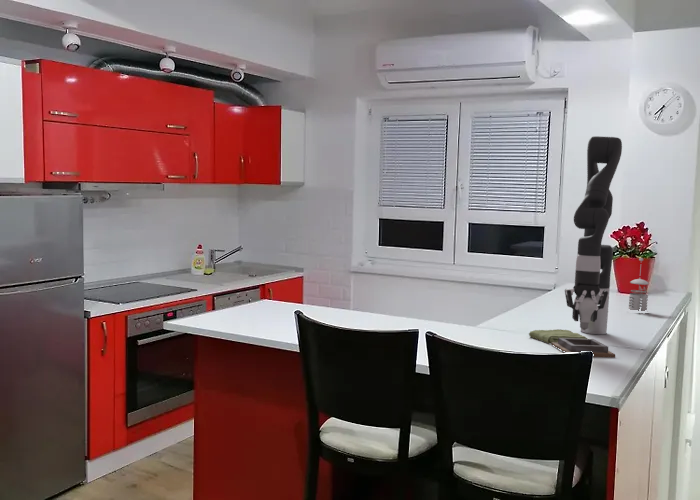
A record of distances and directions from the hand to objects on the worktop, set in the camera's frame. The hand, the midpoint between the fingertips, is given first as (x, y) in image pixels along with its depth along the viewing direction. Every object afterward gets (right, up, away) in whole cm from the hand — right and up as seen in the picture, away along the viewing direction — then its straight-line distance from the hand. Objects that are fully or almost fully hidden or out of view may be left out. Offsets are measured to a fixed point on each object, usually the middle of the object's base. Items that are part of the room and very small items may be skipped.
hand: (584, 320), depth 225 cm
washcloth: (-3, -9, +19) cm, 21 cm away
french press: (+55, -6, +91) cm, 107 cm away
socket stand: (0, -10, +1) cm, 10 cm away
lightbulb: (0, -3, 0) cm, 3 cm away
